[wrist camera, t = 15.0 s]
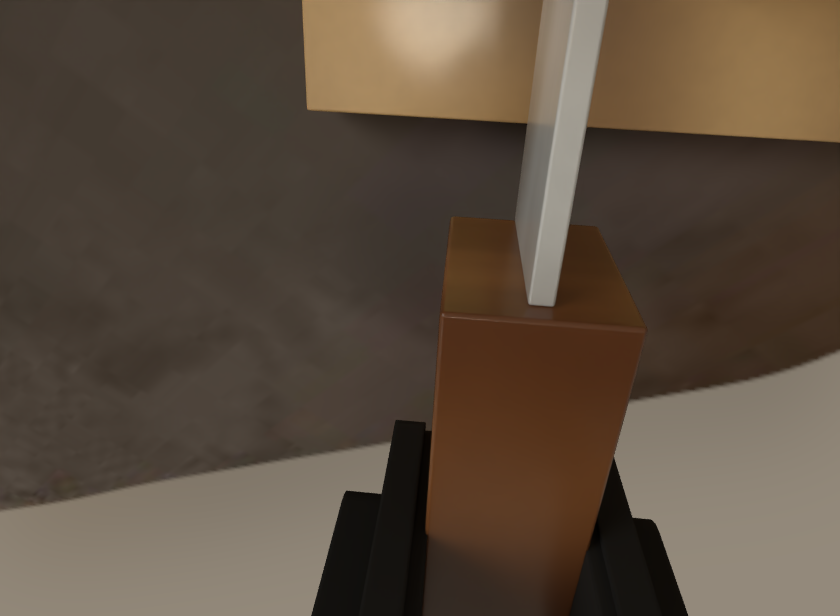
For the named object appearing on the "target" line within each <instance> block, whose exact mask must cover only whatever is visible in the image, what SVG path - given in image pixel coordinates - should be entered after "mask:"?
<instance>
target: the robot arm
mask: <svg viewBox="0 0 840 616" xmlns="http://www.w3.org/2000/svg"><path fill="white" fill-rule="evenodd" d="M425 428H426V423H425V422H414V421H402V420H396V421H395V426H394V431H393V437H392V442H391V447H390V452H389V458H388V464H387V468H386V474H385V479H384V484H383V490H382V494H375V493H364V492H354V491H346V492H345V494H344V496H343V499H342V503H341V507H340V510H339V514H338V518H337V521H336V525H335V529H334V533H333V536H332V540H331V544H330V548H329V551H328V555H327V559H326V563H325V566H324V570H323V574H322V578H321V582H320V585H319V589H318V593H317V597H316V600H315V604H314V608H313V612H312V615H311V616H422V605H423V591H424V577H425V563H426V549H427V535H426V533H425V523H426V509H427V494H428V479H429V465H430V450H431V435H432V431H425ZM569 616H688V614H687V611H686V608H685V605H684V602H683V599H682V596H681V594H680V591H679V588H678V585H677V582H676V579H675V576H674V573H673V570H672V567H671V565H670V562H669V559H668V556H667V553H666V550H665V547H664V544H663V542H662V539H661V536H660V533H659V531H658V528H657V526H656V524H655V523H654V522H653V521H652V520H650V519H640V518H632V515H631V512H630V508H629V505H628V502H627V499H626V495H625V492H624V489H623V486H622V482H621V479H620V476H619V472H618V469H617V466H616V462H615V459H614V457H613V461H612V465H611V468H610V472H609V476H608V479H607V483H606V487H605V491H604V494H603V498H602V502H601V505H600V509H599V513H598V516H597V520H596V524H595V527H594V531H593V535H592V538H591V542H590V546H589V549H588V551H586V555H585V558H584V562H583V566H582V570H581V573H580V577H579V581H578V584H577V588H576V592H575V596H574V599H573V603H572V607H571V610H570V614H569Z"/></svg>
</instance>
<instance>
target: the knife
mask: <svg viewBox="0 0 840 616" xmlns="http://www.w3.org/2000/svg"><path fill="white" fill-rule="evenodd" d="M608 3H609V0H543V5H542V13H541V21H540V29H539V37H538V44H537V52H536V60H535V68H534V75H533V83H532V91H531V99H530V107H529V114H528V122H527V130H526V138H525V146H524V153H523V161H522V169H521V177H520V184H519V192H518V200H517V208H516V216H515V221H511V220H496V219H482V218H468V217H452V218H451V220H450V227H449V236H448V245H447V254H446V263H445V272H444V281H443V290H442V299H441V308H440V318H439V332H438V347H437V362H436V377H435V391H434V406H433V421H432V435H431V450H430V465H429V479H428V494H427V509H426V523H425V533H426V535H427V549H426V563H425V577H424V591H423V605H422V616H569V614H570V610H571V607H572V603H573V599H574V596H575V592H576V588H577V584H578V581H579V577H580V573H581V570H582V566H583V562H584V558H585V555H586V551H588V549H589V546H590V542H591V538H592V535H593V531H594V527H595V524H596V520H597V516H598V513H599V509H600V505H601V502H602V498H603V494H604V491H605V487H606V483H607V479H608V476H609V472H610V468H611V465H612V461H613V457H614V454H615V450H616V446H617V443H618V439H619V435H620V431H621V428H622V424H623V421H624V417H625V413H626V410H627V406H628V402H629V399H630V395H631V391H632V387H633V384H634V380H635V376H636V373H637V369H638V365H639V362H640V358H641V354H642V351H643V347H644V343H645V340H646V336H647V332H648V330H647V327H646V325H645V323H644V321H643V319H642V317H641V315H640V313H639V311H638V309H637V307H636V305H635V302H634V300H633V298H632V296H631V294H630V292H629V290H628V288H627V286H626V284H625V282H624V280H623V278H622V276H621V274H620V272H619V270H618V268H617V266H616V264H615V262H614V260H613V258H612V255H611V253H610V251H609V249H608V247H607V245H606V243H605V241H604V239H603V237H602V235H601V233H600V231H599V229H598V228H597V227H595V226H582V225H569V224H570V218H571V212H572V207H573V201H574V195H575V190H576V184H577V178H578V173H579V167H580V161H581V156H582V150H583V145H584V139H585V133H586V128H587V122H588V116H589V111H590V105H591V99H592V94H593V88H594V82H595V77H596V71H597V65H598V60H599V54H600V48H601V43H602V37H603V32H604V26H605V20H606V15H607V9H608Z"/></svg>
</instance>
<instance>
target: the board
mask: <svg viewBox="0 0 840 616" xmlns="http://www.w3.org/2000/svg"><path fill="white" fill-rule="evenodd" d="M542 5H543V0H302V10H303V31H304V52H305V74H306V95H307V109H308V110H311V111H328V112H344V113H360V114H377V115H393V116H410V117H426V118H443V119H459V120H475V121H492V122H508V123H525V124H527V122H528V114H529V107H530V99H531V91H532V83H533V75H534V68H535V60H536V52H537V44H538V37H539V29H540V21H541V13H542ZM587 127H590V128H607V129H623V130H640V131H656V132H673V133H689V134H705V135H722V136H738V137H755V138H771V139H788V140H804V141H820V142H837V143H840V0H609V3H608V9H607V15H606V20H605V26H604V32H603V37H602V43H601V48H600V54H599V60H598V65H597V71H596V77H595V82H594V88H593V94H592V99H591V105H590V111H589V116H588V122H587Z"/></svg>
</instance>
